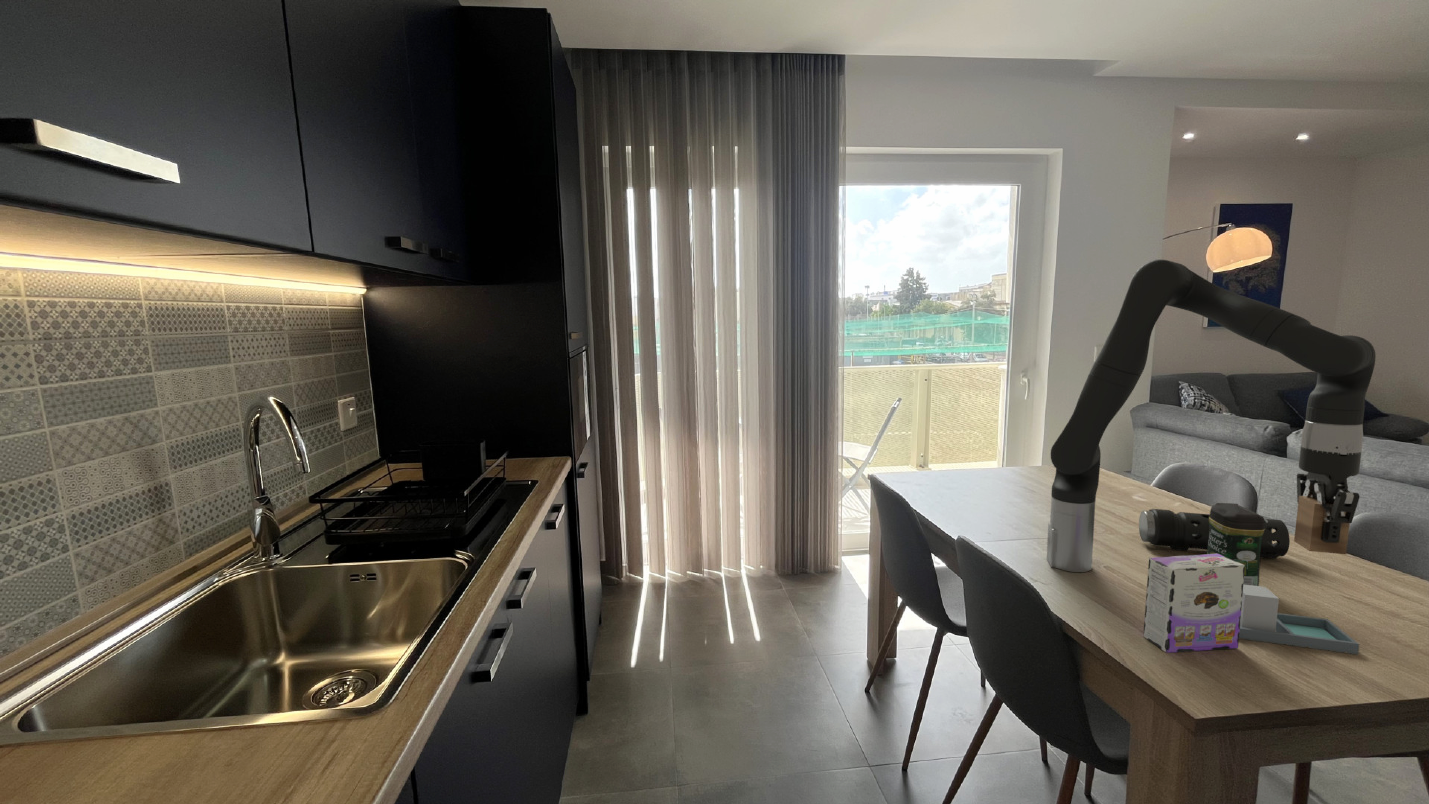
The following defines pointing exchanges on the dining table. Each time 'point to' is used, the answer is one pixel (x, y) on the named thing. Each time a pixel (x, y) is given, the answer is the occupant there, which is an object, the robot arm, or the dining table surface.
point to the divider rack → (1288, 625)
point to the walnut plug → (1316, 528)
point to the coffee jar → (1237, 537)
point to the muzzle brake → (1202, 532)
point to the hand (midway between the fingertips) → (1320, 536)
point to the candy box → (1193, 602)
